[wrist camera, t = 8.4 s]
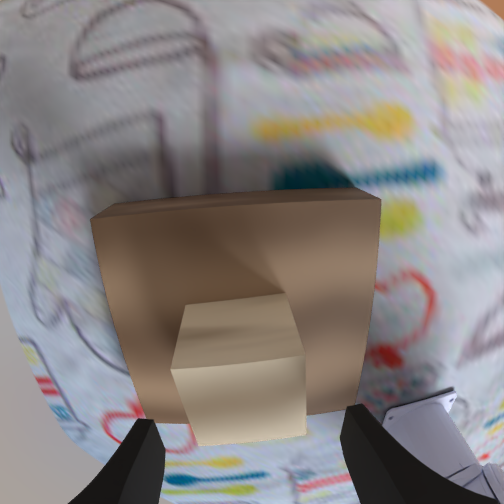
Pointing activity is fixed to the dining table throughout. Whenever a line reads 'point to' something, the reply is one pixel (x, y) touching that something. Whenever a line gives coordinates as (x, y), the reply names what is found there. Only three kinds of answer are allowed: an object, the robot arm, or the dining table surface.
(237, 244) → the walnut block
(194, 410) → the beech cube
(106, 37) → the dining table surface
